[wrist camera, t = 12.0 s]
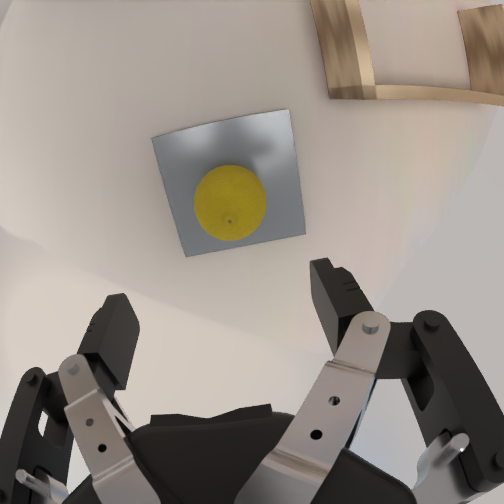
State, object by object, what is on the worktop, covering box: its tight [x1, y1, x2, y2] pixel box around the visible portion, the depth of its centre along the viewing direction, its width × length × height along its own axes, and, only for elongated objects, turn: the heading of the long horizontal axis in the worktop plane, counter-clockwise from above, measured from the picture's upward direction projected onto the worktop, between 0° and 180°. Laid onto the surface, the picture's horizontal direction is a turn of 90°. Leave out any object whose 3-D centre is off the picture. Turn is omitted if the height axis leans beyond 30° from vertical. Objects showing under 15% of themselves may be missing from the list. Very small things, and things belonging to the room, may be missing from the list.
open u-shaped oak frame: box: [310, 0, 504, 106], centre depth 17 cm, size 11×19×8 cm, turn 100°
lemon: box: [194, 165, 266, 241], centre depth 23 cm, size 6×6×8 cm
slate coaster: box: [152, 109, 306, 257], centre depth 26 cm, size 12×12×1 cm
